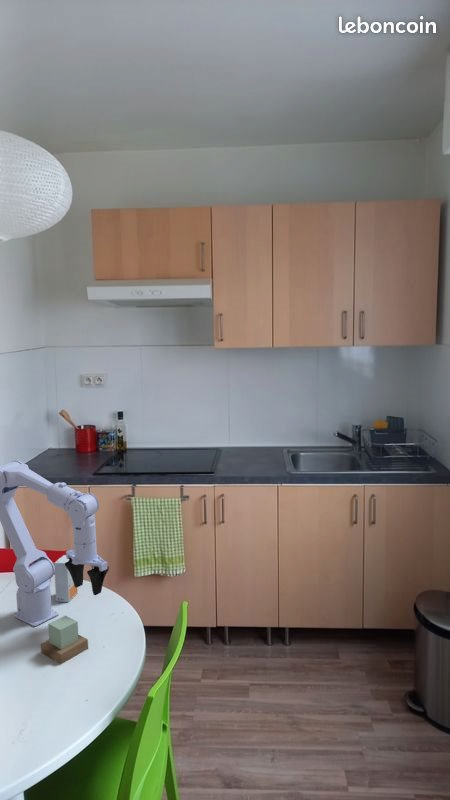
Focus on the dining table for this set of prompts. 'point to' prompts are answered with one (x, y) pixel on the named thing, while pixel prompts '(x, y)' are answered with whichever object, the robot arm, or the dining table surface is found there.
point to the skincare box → (63, 581)
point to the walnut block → (64, 650)
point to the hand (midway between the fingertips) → (87, 589)
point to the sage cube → (63, 632)
